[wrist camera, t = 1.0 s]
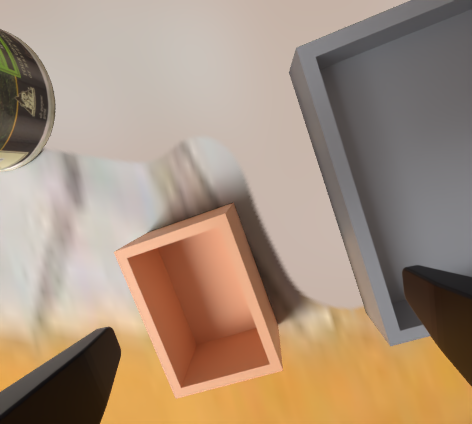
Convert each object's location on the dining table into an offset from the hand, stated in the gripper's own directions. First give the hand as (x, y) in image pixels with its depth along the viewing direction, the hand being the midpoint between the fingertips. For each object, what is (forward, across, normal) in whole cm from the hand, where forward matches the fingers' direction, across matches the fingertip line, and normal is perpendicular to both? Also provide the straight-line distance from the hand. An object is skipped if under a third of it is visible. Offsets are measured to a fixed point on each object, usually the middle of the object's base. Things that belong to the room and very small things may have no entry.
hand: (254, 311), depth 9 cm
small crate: (+12, +4, +5) cm, 14 cm away
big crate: (+12, -14, -1) cm, 18 cm away
